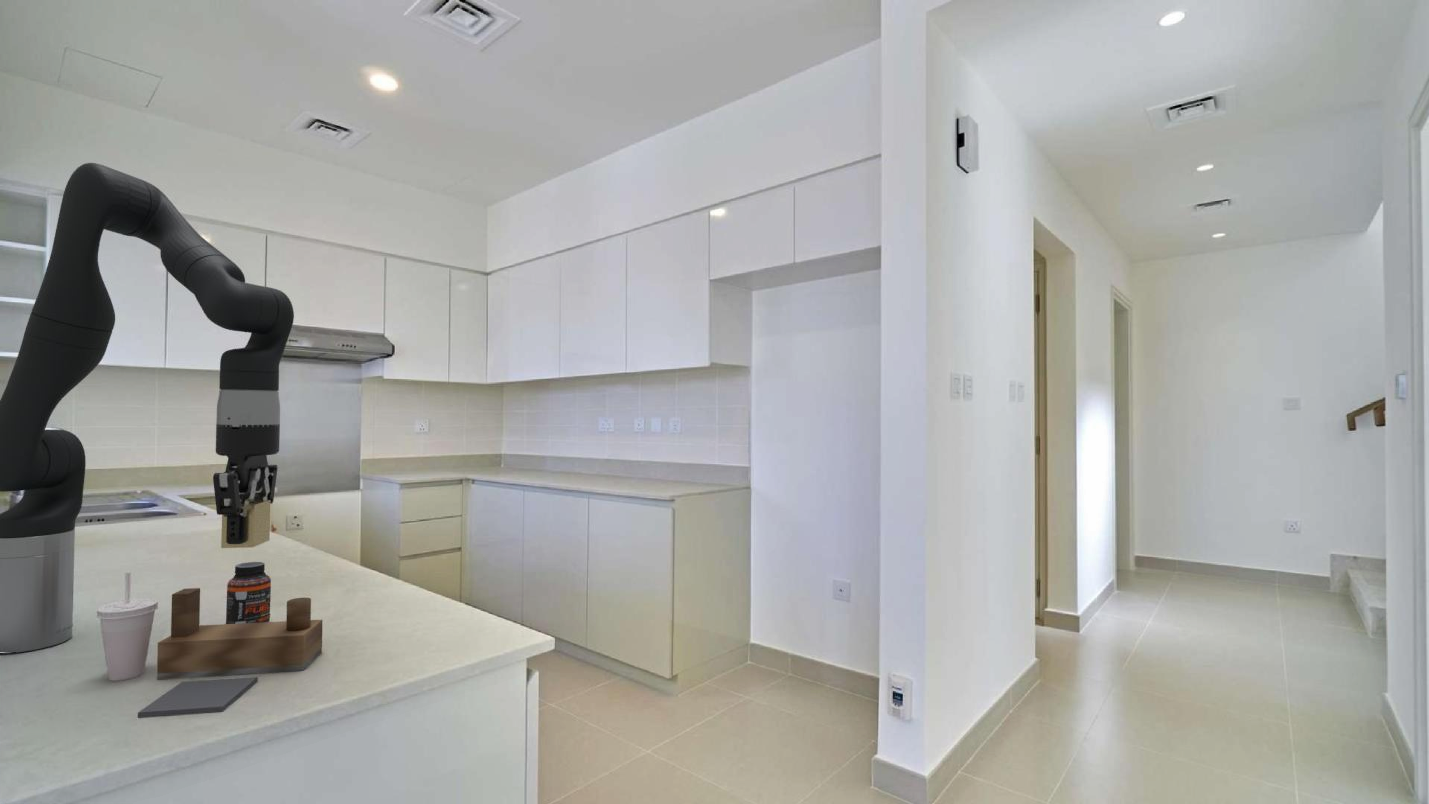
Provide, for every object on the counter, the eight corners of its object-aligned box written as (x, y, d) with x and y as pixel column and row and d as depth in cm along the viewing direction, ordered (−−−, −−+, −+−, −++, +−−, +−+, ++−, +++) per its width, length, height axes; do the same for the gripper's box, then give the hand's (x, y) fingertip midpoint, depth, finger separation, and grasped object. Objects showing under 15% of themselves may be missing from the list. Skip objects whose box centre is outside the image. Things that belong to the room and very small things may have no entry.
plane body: (156, 679, 89) (158, 598, 89) (186, 660, 96) (188, 585, 96) (303, 670, 93) (304, 592, 93) (321, 652, 100) (323, 580, 100)
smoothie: (151, 662, 95) (153, 565, 95) (161, 674, 91) (164, 573, 91) (90, 675, 90) (93, 574, 90) (99, 688, 86) (101, 582, 86)
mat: (137, 717, 79) (137, 712, 79) (181, 686, 87) (181, 681, 87) (222, 711, 80) (222, 706, 80) (257, 681, 89) (257, 677, 89)
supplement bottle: (246, 640, 105) (248, 569, 105) (215, 637, 106) (217, 567, 106) (278, 628, 110) (280, 561, 111) (249, 625, 112) (250, 559, 112)
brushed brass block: (221, 548, 92) (222, 501, 92) (238, 541, 97) (240, 496, 97) (253, 547, 93) (254, 500, 93) (269, 540, 98) (270, 495, 98)
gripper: (244, 420, 101) (241, 531, 101) (190, 422, 87) (187, 551, 87) (298, 421, 103) (295, 530, 102) (254, 423, 89) (251, 549, 88)
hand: (245, 539), depth 95 cm, fingers closed on brushed brass block, 5 cm apart
